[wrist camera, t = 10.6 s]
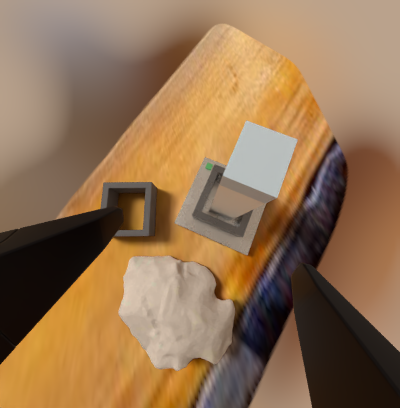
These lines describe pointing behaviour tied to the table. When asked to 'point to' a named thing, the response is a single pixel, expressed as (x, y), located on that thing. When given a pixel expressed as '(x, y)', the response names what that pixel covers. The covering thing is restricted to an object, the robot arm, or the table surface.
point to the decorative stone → (175, 311)
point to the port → (212, 223)
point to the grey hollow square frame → (111, 199)
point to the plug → (253, 171)
